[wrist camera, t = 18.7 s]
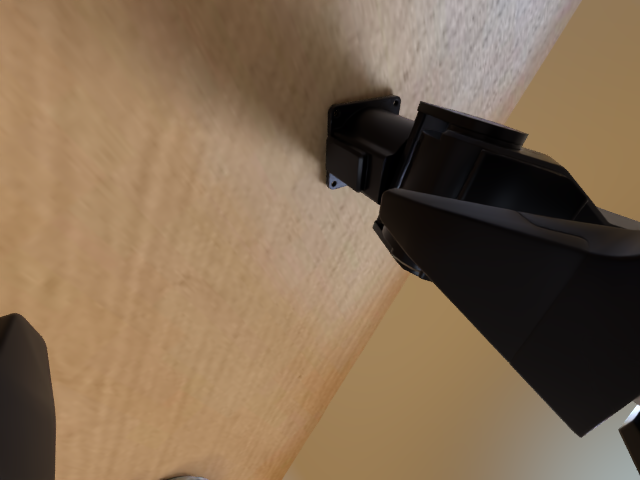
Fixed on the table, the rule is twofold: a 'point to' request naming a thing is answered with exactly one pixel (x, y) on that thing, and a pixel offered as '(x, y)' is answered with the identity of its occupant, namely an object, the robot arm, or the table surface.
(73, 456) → the table surface
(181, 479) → the salad plate
